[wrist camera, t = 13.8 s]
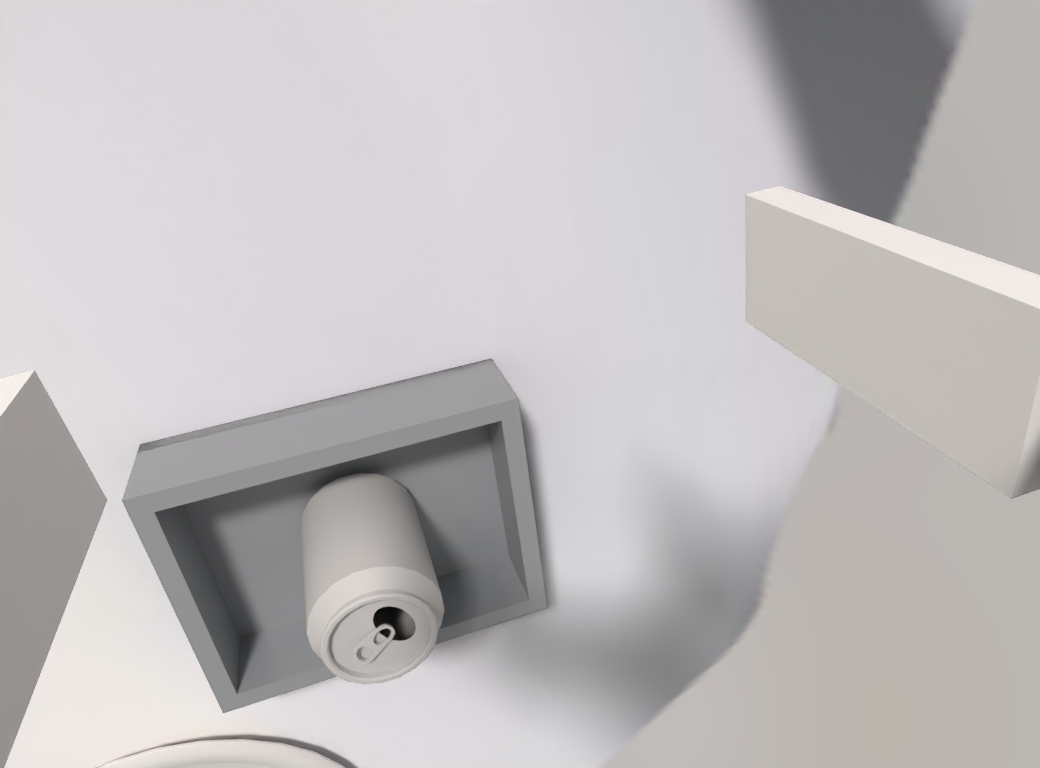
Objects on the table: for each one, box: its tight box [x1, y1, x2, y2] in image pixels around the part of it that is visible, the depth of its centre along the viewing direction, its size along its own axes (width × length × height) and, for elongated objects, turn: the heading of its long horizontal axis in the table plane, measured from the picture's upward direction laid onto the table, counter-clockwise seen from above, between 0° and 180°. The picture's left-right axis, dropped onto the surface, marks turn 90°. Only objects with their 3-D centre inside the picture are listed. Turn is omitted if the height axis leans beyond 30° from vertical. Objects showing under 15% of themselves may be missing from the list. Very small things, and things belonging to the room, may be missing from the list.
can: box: [301, 473, 444, 684], centre depth 43 cm, size 8×8×12 cm
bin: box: [122, 359, 547, 713], centre depth 47 cm, size 22×17×6 cm
